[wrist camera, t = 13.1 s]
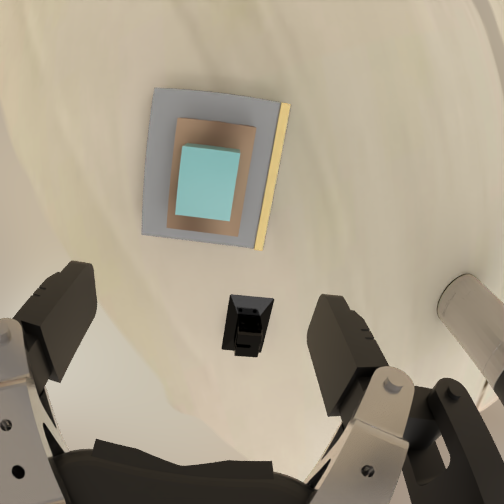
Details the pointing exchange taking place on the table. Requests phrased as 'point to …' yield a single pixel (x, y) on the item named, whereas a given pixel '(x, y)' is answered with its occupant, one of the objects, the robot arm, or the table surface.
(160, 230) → the dock
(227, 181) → the teal rectangular block
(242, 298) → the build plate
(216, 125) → the pallet
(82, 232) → the table surface
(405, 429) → the robot arm
